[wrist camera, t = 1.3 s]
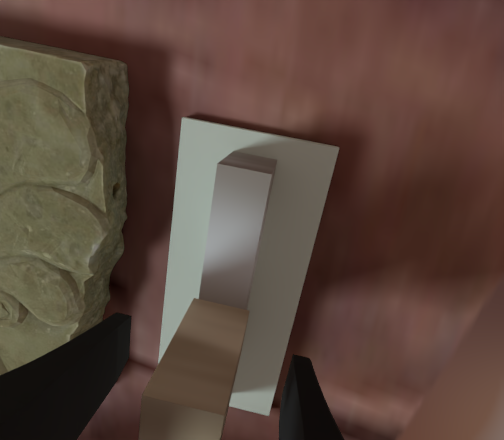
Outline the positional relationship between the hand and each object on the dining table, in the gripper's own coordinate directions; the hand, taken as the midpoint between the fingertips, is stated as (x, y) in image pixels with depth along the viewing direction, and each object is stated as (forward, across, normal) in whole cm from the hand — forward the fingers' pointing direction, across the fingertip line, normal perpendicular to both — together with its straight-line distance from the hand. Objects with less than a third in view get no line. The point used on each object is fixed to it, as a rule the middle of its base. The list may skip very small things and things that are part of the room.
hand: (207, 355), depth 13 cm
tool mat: (+5, 0, 0) cm, 5 cm away
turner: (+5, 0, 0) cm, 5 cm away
